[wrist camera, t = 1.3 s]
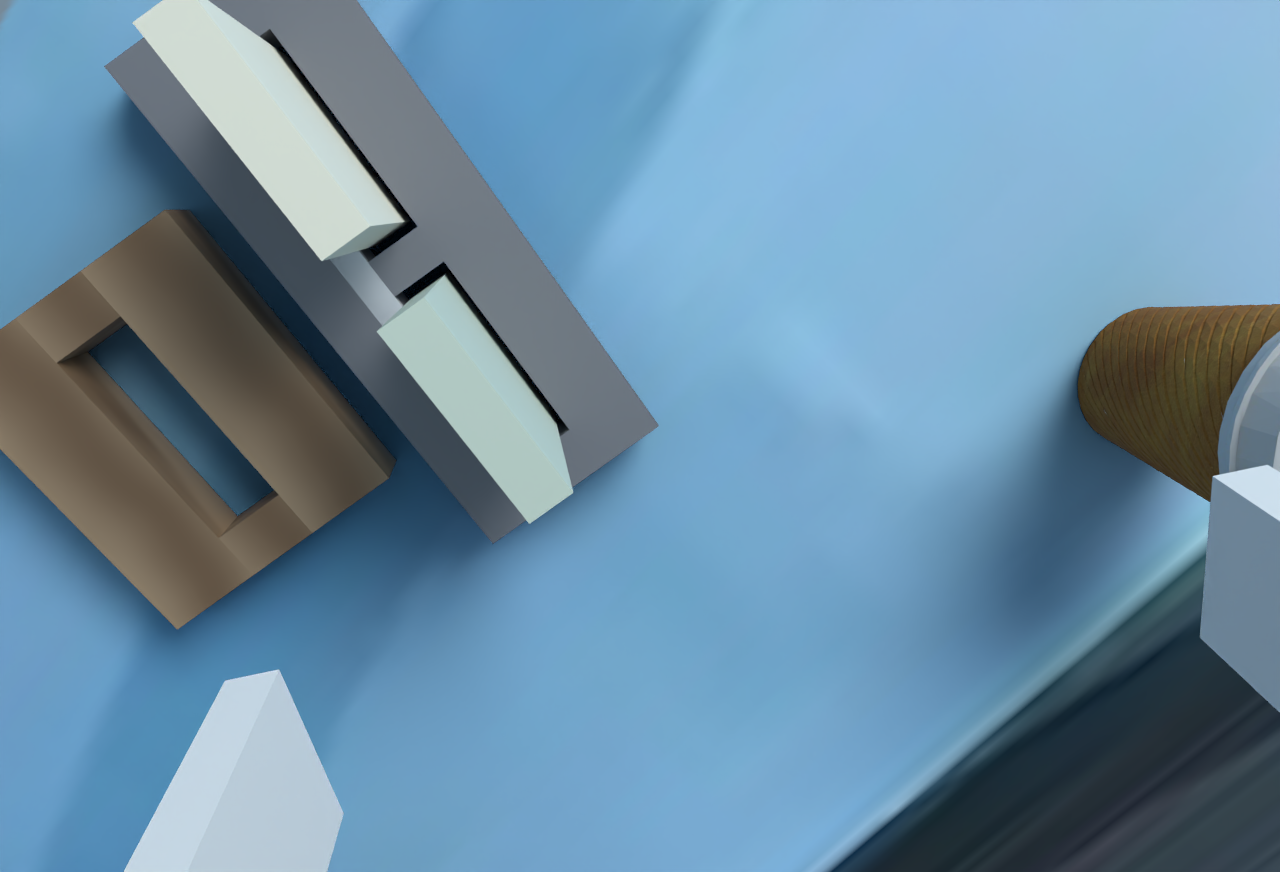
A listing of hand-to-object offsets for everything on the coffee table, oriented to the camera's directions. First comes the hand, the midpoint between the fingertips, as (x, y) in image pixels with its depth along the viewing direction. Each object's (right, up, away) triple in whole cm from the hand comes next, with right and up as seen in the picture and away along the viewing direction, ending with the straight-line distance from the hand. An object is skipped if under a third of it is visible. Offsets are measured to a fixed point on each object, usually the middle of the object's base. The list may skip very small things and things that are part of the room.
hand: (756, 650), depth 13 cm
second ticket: (-8, +6, +23) cm, 25 cm away
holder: (-19, +4, +22) cm, 30 cm away
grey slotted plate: (-10, +10, +22) cm, 26 cm away
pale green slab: (-13, +13, +21) cm, 28 cm away
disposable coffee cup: (+21, +6, +28) cm, 35 cm away
